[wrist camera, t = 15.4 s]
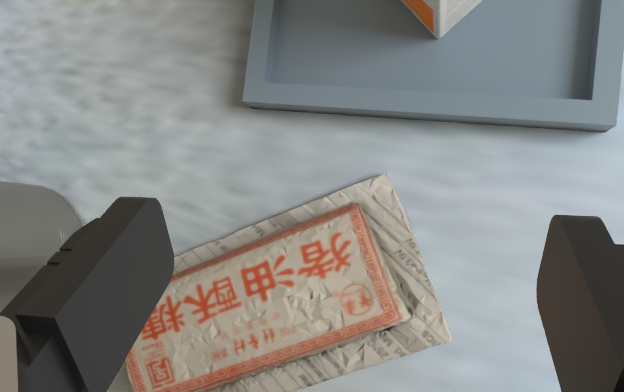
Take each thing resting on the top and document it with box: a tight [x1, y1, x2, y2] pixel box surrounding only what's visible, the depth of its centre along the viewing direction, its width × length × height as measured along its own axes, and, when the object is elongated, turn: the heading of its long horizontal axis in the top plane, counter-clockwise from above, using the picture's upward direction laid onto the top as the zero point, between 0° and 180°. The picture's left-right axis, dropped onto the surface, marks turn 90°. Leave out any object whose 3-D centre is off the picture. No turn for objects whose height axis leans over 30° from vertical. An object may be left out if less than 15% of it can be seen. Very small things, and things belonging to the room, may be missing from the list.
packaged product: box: [125, 173, 452, 392], centre depth 29 cm, size 18×5×10 cm
